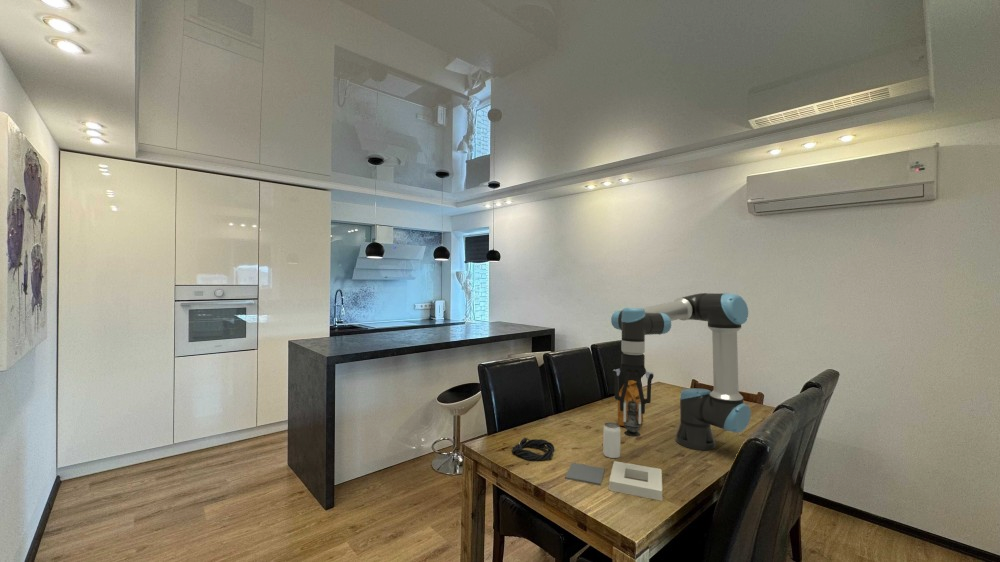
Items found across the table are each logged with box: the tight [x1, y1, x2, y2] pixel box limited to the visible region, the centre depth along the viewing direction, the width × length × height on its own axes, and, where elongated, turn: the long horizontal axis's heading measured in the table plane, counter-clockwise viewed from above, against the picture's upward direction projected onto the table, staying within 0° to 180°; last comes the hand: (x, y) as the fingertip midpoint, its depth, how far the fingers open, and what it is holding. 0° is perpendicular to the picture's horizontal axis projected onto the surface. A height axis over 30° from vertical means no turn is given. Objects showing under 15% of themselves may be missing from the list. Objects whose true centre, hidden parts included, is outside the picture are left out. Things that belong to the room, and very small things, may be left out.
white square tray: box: [608, 460, 663, 502], centre depth 131 cm, size 16×16×3 cm
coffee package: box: [617, 380, 644, 427], centre depth 188 cm, size 10×12×22 cm
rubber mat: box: [564, 462, 606, 486], centre depth 137 cm, size 12×12×1 cm
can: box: [602, 421, 621, 459], centre depth 153 cm, size 6×6×12 cm
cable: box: [511, 437, 555, 461], centre depth 154 cm, size 17×14×4 cm
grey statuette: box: [623, 399, 642, 438], centre depth 132 cm, size 6×6×12 cm
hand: (632, 421), depth 132 cm, fingers closed on grey statuette, 4 cm apart
